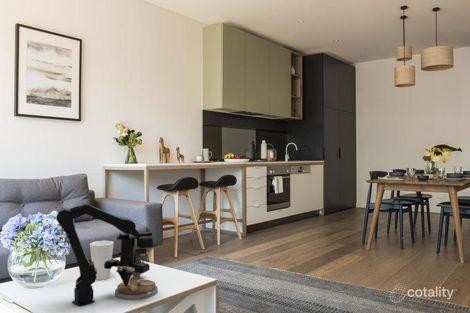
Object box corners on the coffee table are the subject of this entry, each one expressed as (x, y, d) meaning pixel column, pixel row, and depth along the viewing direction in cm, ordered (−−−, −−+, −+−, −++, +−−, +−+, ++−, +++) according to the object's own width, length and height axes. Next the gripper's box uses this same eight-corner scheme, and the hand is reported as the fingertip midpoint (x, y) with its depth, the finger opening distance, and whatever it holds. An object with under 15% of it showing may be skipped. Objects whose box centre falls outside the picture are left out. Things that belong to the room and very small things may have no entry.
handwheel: (121, 283, 183) (121, 269, 183) (157, 282, 184) (157, 269, 184) (113, 295, 167) (113, 280, 167) (152, 294, 168) (152, 279, 168)
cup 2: (140, 281, 192) (140, 264, 192) (125, 280, 194) (125, 263, 194) (146, 276, 200) (146, 260, 200) (132, 275, 201) (132, 259, 201)
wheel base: (132, 303, 163) (132, 298, 163) (106, 293, 174) (106, 289, 174) (166, 291, 177) (166, 287, 177) (140, 283, 188) (140, 279, 188)
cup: (108, 281, 192) (108, 245, 192) (87, 281, 192) (87, 245, 192) (115, 274, 203) (115, 240, 203) (95, 274, 203) (95, 240, 203)
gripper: (156, 247, 175) (155, 283, 175) (118, 243, 180) (117, 278, 181) (143, 253, 164) (142, 291, 164) (103, 248, 170) (102, 285, 170)
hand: (126, 286), depth 170 cm, fingers closed
